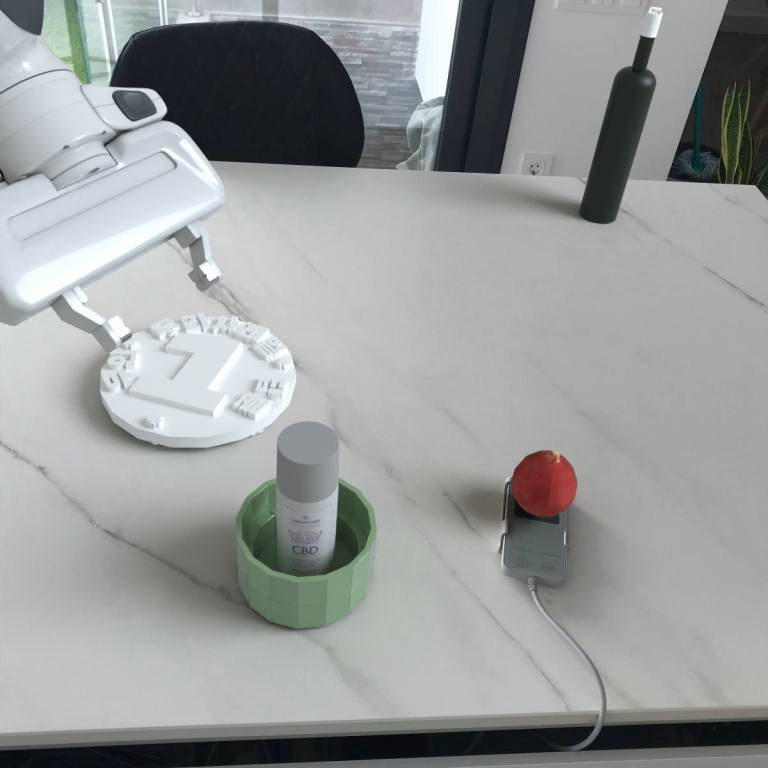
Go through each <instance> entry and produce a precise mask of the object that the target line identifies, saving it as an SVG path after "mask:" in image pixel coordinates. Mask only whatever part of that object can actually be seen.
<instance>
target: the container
mask: <svg viewBox="0 0 768 768" xmlns="http://www.w3.org/2000/svg"><path fill="white" fill-rule="evenodd" d="M339 470H340V439H339V436H338V434H337V433H336V431H335V430H333V429H332V428H331V427H330V426H328V425H326V424H325V423H322V422H317V421H313V420H312V421H311V420H310V421H309V420H305V421H297V422H295V423H294V422H293V423H291V424H290V425H288V426H287V427H285V428H284V429H282V431H281V432H280V433H279V435H278V437H277V441H276V472H275V473H276V477H275V478H276V517H277V569H278V572H281V573H284V574H288V575H292V576H296V577H305V576H317V575H326V574H328V573H331V572H333V568H334V552H335V536H336V520H337V503H338V478H340V477H339V474H340V473H339V472H340V471H339Z"/></svg>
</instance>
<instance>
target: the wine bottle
mask: <svg viewBox="0 0 768 768" xmlns="http://www.w3.org/2000/svg"><path fill="white" fill-rule="evenodd" d="M662 9H663V7H659V6H652V5H650V6H649V9H647V10H646V11H645V13H644V14H645V15H644V19H643V23H642V25H641V29H640V33H639V39H638V43H637V46H636V49H635V50H636V51H635V54H634V57H633V61H632V64H631V65H628V66H625V67H622V68H620V69H619V70H618V71H617V72H616V74H615V75H614V77H613V81H612V84H611V85H612V86H611V89H610V92H609V97H608V100H607V104H606V108H605V111H604V115H603V119H602V123H601V126H600V129H599V134H598V138H597V141H596V145H595V149H594V152H593V157H592V160H591V165H590V168H589V172H588V175H587V180H586V183H585V187H584V191H583V195H582V199H581V201H580V206H579V210H578V212H579V215H580V216H581V217H582V218H584V219H585V220H587V221H588V222H592V223H596V224H611V223H613V222H615V221H616V220H617V217H618V214H619V211H620V207H621V204H622V201H623V198H624V194H625V191H626V187H627V183H628V180H629V177H630V174H631V170H632V167H633V164H634V161H635V158H636V154H637V151H638V147H639V144H640V142H641V141H640V140H641V138H642V134H643V131H644V128H645V123H646V121H647V117H648V114H649V111H650V107H651V103H652V101H653V97H654V93H655V91H656V88H657V78H656V75H655V73H653V71H651V70H650V69H649V68H648V64H649V61H650V58H651V54H652V51H653V48H654V43H655V40H656V37H657V35H658V32H659V29H660V25H661V22H662V19H663V15H664V12H662Z"/></svg>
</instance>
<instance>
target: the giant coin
mask: <svg viewBox="0 0 768 768" xmlns="http://www.w3.org/2000/svg"><path fill="white" fill-rule="evenodd" d="M296 384H297V371H296V367H295V363H294V360H293V355H292V352H291V351H290V350H289V349H288V346H287V345H286V344H284V343H283V342H282V341H281V339H279V338H278V337H277V336H276V334H275V335H274V333H271V332H270V327H269V328H268V327H266V326H263V325H259V324H256V323H253V322H250V321H242V320H239V316H237V315H231V317H227V315H219V316H205V313H204V312H199V313H197V314H194V313H193V314H189V315H183V316H180V318H178V319H173V320H172V319H170V318H163V319H161V320H157V322H154V323H152V324H151V325H150V327H149V326H148V327H147V328H144V329H142V330H140V331H137V332H135V333H132V338H131V339H129V340H128V341H127V342H125V343H124V344H122V345H121V346H119V347H118V348H116V349H115V350H113V351H112V352H110V353H109V356H108V357H107V359H106V361H105V363H104V364H103V365H102V367H101V369H100V381H99V394H100V399H101V403H102V405H103V407H104V408H105V410H106V412H107V413H108V415H109V416H110V417H109V418H110V419H111V421H112V422H113V423H114V424H115V425H117V426H118V427H119V428H121V429H123V430H124V431H126V432H127V433H129V434H130V435H132V436H133V437H135V438H136V439H138V440H142V441H145V442H149V443H151V445H154V446H158V445H161V446H164V447H167V448H181V449H183V448H186V449H187V448H197V449H199V448H200V449H201V448H202V449H203V448H207V449H209V448H213V447H216V446H220V445H221V446H222V445H225V444H229V443H234V442H237V441H242V440H245V439H247V438H249V437H254V436H256V435H258V434H262V433H264V432H265V428H266V427H269V426H271V425H273V423H274V422H275V421H276V419H277V418H279V416H280V415H281V414H282V413H283V412H284V411H285V410H286V409H287V408H288V407H289V406H290V404H291V401H292V398H293V395H294V391H295V388H296Z"/></svg>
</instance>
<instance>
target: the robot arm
mask: <svg viewBox="0 0 768 768" xmlns="http://www.w3.org/2000/svg"><path fill="white" fill-rule="evenodd" d="M44 15H45V0H0V323H1V324H4V325H7V326H9V327H10V326H11V327H16V326H19V325H20V324H22V323H24V322H25V321H27V320H29V319H31V318H33V317H34V316H36V315H38V314H40V313H41V312H43V311H45V310H47V309H49V308H52V310H53V311H54V313H55V314H56V315H57V316H58V317H59V319H60V320H61V322H63V323H66V324H68V325H70V326H72V327H74V328H76V329H79V330H81V331H83V332H85V333H87V334H89V335H90V334H91V335H92V336H93V337H94V339H95V340H96V341H97V343H98V344H99V346H101V348H102V349H103V350H104V351H105V353H109V354H110V352H112V351H113V350H115V349H116V348H118V347H119V346H121V345H122V344H124V343H125V342H127V341H128V340H129V339H131V338H132V335H133V333H132V332H131V330H130V329H129V328H128V327H126V326H125V322H124V320H123V319H122V318H121V317H120V316H119V314H117V315H116V316H113V317H112V318H110V319H109V318H107V317H105V316H103V315H101V314H100V313H98V312H96V311H95V310H93V309H91V308H89V307H87V306H86V305H85V304H87V303H88V302H89V298H88V296H87V295H86V293H85V292H84V291H83V289H85V288H86V287H88V286H90V285H92V284H94V283H96V282H97V281H99V280H101V279H103V278H104V277H106V276H108V275H110V274H112V273H113V272H115V271H117V270H119V269H120V268H122V267H124V266H127V265H128V264H129V263H131V262H134V261H135V260H137V259H139V258H140V257H143V256H144V255H146V254H147V253H149V252H151V251H152V250H153V251H154V250H155V249H156V248H158V247H160V246H162V245H164V244H165V243H167V242H169V241H171V240H173V239H175V240H176V242H177V243H178V245H179V246H180V248H181V249H183V250H185V249H188V250H189V254H190V259H191V263H192V267H193V269H192V270H191V271H190V272H189V273H187V276H188V278H189V279H190V280H191V281H192V283H195V288H196V289H197V290H198V291H199V292H201V293H202V292H203V293H204V292H206V291H208V289H211V288H212V287H213V286H215V285H216V284H218V283H220V281H222V280H223V279H224V273H223V272H222V270H221V269H220V268H219V266H218V265H217V263H216V262H215V260H214V259H213V252H212V245H211V237H210V232H209V230H208V229H207V227H206V226H205V225H204V223H203V222H205V221H207V220H208V219H209V218H210V217H212V216H213V215H215V214H216V213H217V212H219V210H220V209H222V208H223V207H224V206H225V204H226V202H227V198H226V197H227V195H226V187H225V185H224V182H223V180H222V179H221V178H220V176H219V174H218V172H217V171H216V170H215V168H214V167H213V165H212V164H211V162H210V161H209V159H208V158H207V157H206V156H205V154H204V153H203V152H202V150H201V149H200V147H199V146H198V145H197V143H196V142H195V141H194V140H193V139H192V137H191V135H189V134H188V133H187V132H186V131H185V130H184V129H183V128H182V127H181V126H180V125H178V124H176V123H174V122H172V121H168V120H163V118H164V117H165V116H166V114H167V113H168V108H167V105H166V103H165V102H164V100H163V98H162V96H160V95H159V94H158V92H157V91H155V90H154V89H151V88H146V87H120V86H118V87H117V86H109V85H107V86H106V85H99V84H95V83H94V84H92V83H84V84H83V83H82V81H81V79H80V78H79V77H78V76H77V74H76V72H75V71H74V70H73V69H72V68H71V66H70V65H68V64H67V63H66V62H65V61H63V59H62V58H60V57H59V56H58V55H57V54H56V53H55V52H54V51H53V50H52V48H51V47H50V46H49V45H48V42H47V41H46V39H45V37H44V36H43V35H44V34H43V33H42V31H43V26H44Z"/></svg>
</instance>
